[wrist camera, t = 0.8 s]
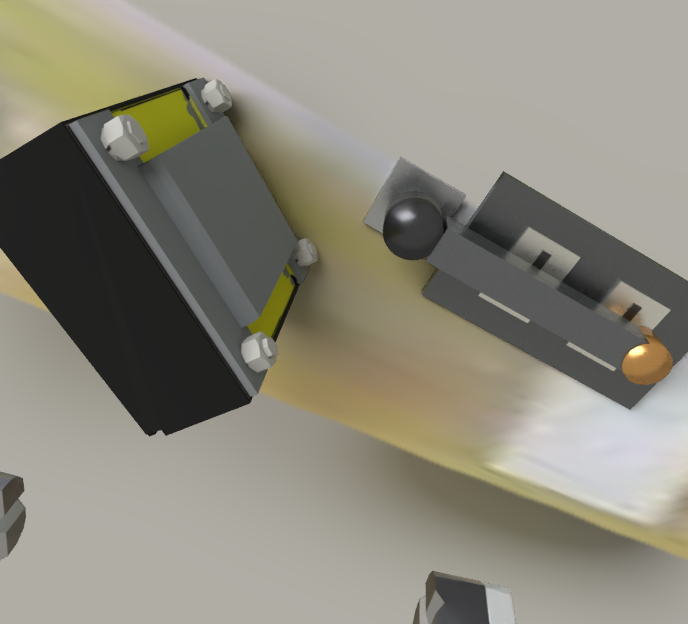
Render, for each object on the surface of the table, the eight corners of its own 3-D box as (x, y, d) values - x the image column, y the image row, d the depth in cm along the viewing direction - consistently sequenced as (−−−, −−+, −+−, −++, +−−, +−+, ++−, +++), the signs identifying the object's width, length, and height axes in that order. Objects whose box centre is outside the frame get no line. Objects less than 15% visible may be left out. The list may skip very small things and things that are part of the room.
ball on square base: (400, 156, 47) (399, 164, 45) (465, 194, 48) (467, 204, 46) (363, 219, 50) (360, 230, 48) (425, 254, 51) (425, 267, 49)
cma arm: (374, 228, 47) (371, 242, 44) (403, 180, 45) (402, 191, 42) (633, 373, 51) (646, 395, 48) (671, 334, 49) (686, 355, 46)
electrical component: (327, 260, 52) (282, 391, 34) (229, 304, 55) (141, 445, 37) (219, 64, 46) (96, 100, 28) (115, 125, 49) (-56, 193, 31)
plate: (503, 171, 47) (505, 175, 46) (726, 303, 50) (732, 310, 49) (421, 290, 52) (421, 296, 51) (627, 404, 55) (631, 412, 54)
